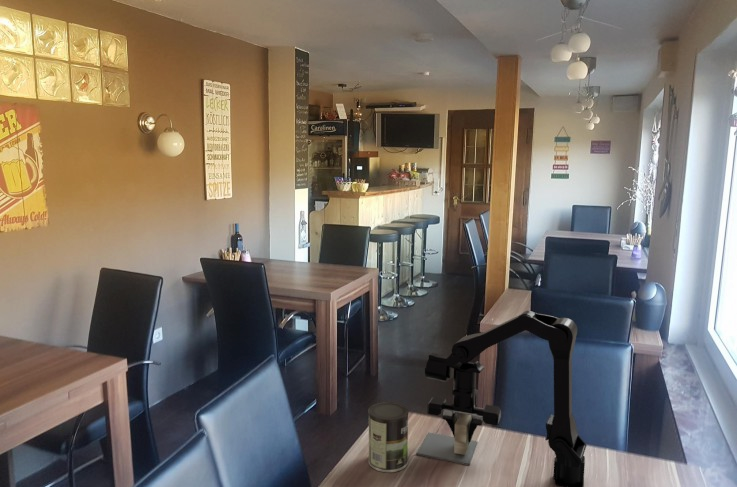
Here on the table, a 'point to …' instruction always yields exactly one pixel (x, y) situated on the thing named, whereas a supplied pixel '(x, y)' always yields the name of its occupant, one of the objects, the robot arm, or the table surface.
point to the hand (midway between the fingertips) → (462, 440)
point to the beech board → (462, 434)
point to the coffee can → (388, 436)
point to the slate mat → (445, 449)
